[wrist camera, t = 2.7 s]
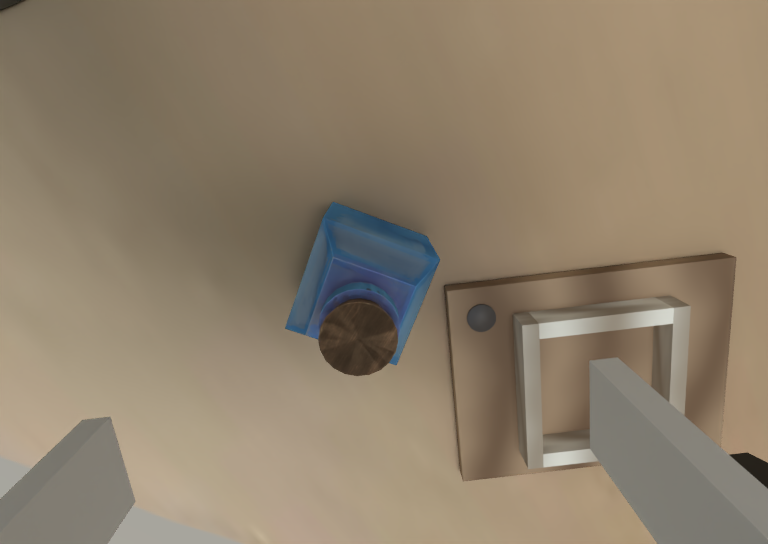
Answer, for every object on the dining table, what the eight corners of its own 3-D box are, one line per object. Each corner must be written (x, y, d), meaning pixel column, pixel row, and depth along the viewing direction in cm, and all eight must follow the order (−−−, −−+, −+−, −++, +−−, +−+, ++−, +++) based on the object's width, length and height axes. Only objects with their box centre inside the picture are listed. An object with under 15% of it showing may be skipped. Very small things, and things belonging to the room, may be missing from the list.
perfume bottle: (391, 323, 32) (403, 427, 20) (301, 292, 31) (260, 382, 19) (426, 236, 30) (460, 295, 19) (332, 201, 30) (308, 240, 18)
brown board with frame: (459, 469, 35) (468, 502, 32) (444, 285, 31) (452, 301, 28) (708, 441, 35) (741, 470, 32) (722, 252, 31) (761, 265, 28)
